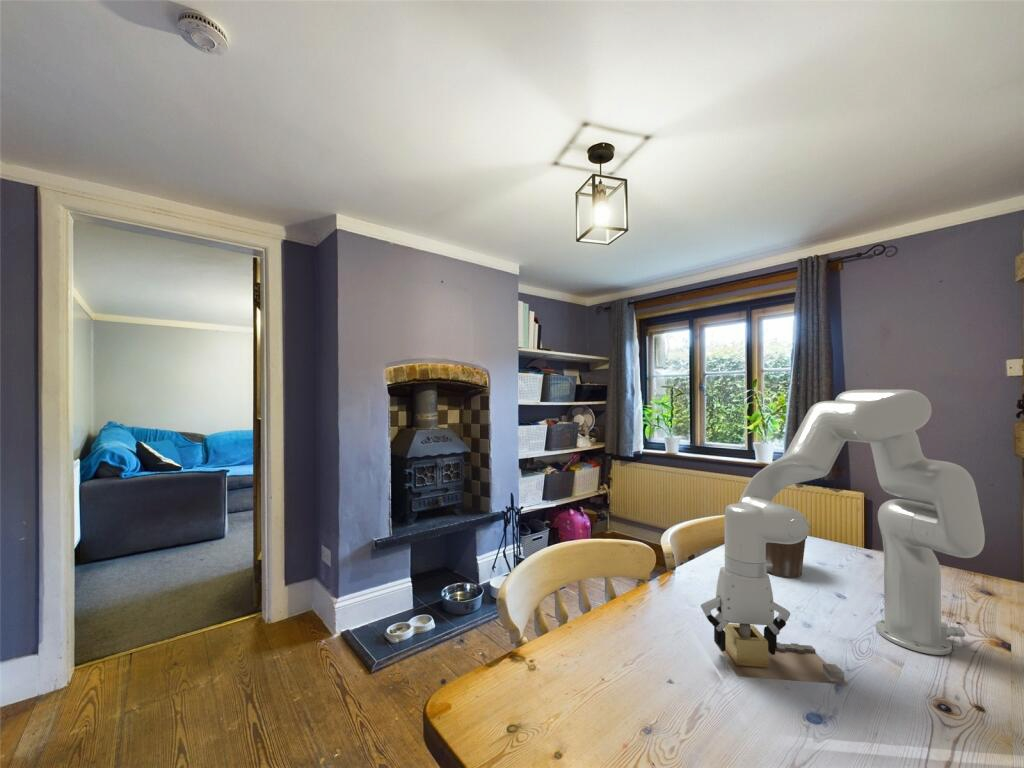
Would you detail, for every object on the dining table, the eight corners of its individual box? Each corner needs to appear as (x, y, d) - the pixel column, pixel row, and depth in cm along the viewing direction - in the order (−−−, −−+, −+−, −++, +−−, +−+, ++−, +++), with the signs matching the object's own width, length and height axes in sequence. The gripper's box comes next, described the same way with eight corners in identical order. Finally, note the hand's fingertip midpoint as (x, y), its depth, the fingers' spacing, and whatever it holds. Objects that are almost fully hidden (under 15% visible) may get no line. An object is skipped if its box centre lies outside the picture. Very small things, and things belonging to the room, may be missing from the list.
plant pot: (823, 582, 126) (823, 528, 127) (769, 581, 126) (769, 527, 127) (788, 560, 142) (788, 513, 143) (740, 560, 143) (740, 512, 143)
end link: (753, 649, 89) (753, 625, 89) (768, 667, 83) (768, 641, 83) (724, 647, 90) (724, 623, 90) (736, 665, 84) (736, 639, 84)
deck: (809, 652, 91) (809, 613, 91) (848, 690, 79) (847, 646, 79) (713, 645, 93) (713, 608, 93) (737, 682, 81) (737, 639, 81)
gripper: (778, 560, 90) (779, 641, 90) (695, 556, 92) (695, 635, 91) (799, 575, 83) (799, 663, 82) (708, 570, 84) (708, 657, 84)
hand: (744, 648), depth 87 cm, fingers open, 9 cm apart
